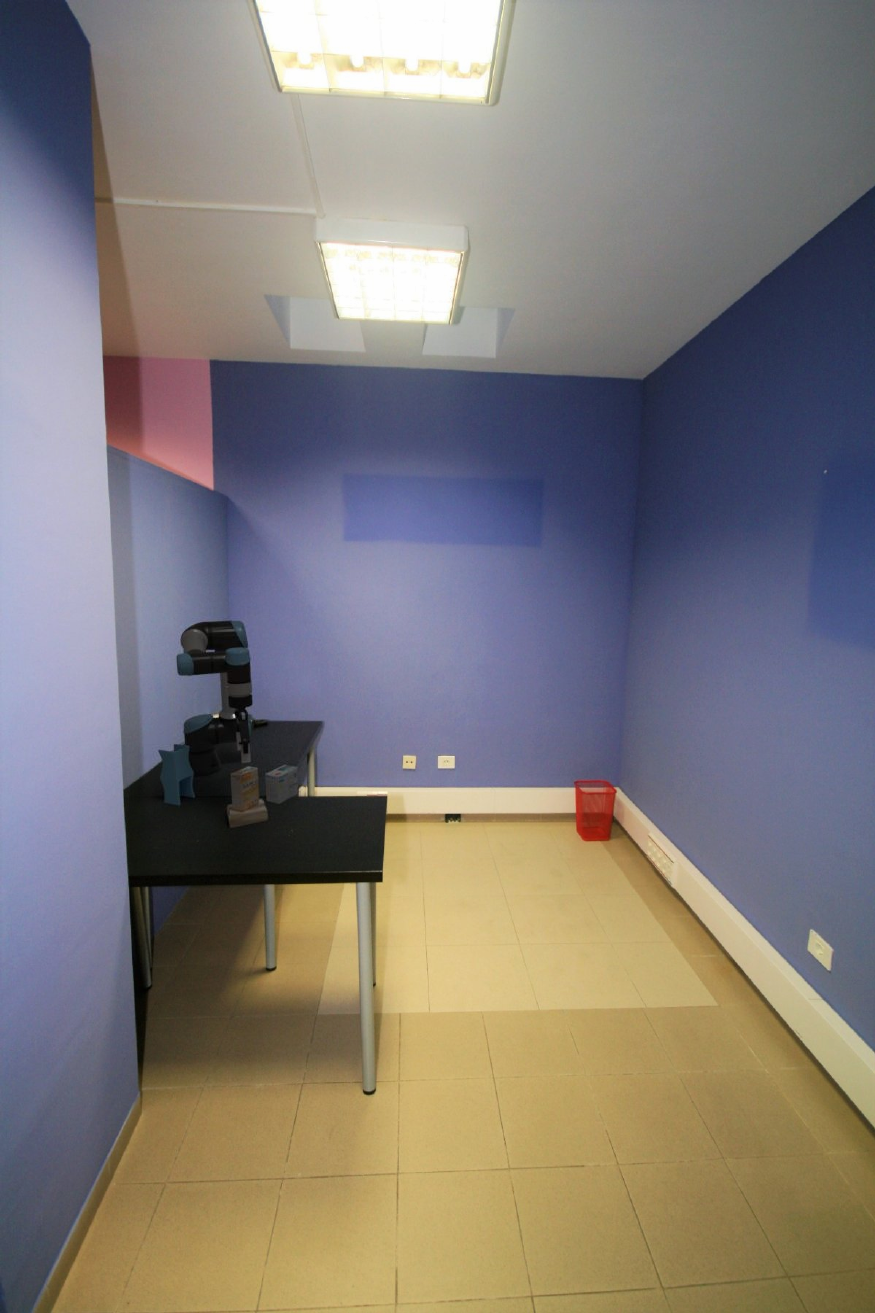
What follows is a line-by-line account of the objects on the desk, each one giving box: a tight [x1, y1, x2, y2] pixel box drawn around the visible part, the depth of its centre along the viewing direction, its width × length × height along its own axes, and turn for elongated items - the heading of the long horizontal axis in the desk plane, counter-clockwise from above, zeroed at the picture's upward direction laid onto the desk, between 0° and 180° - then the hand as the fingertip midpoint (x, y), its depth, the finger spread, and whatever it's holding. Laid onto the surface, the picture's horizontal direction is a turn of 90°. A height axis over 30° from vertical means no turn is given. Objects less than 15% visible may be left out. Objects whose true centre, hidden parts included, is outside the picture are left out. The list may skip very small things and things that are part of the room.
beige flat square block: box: [226, 798, 269, 828], centre depth 179 cm, size 10×12×4 cm
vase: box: [157, 743, 196, 806], centre depth 192 cm, size 8×8×20 cm
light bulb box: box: [264, 764, 299, 805], centre depth 195 cm, size 11×7×11 cm, turn 154°
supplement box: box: [230, 765, 260, 812], centre depth 178 cm, size 8×5×13 cm, turn 157°
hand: (243, 755), depth 176 cm, fingers open, 13 cm apart
